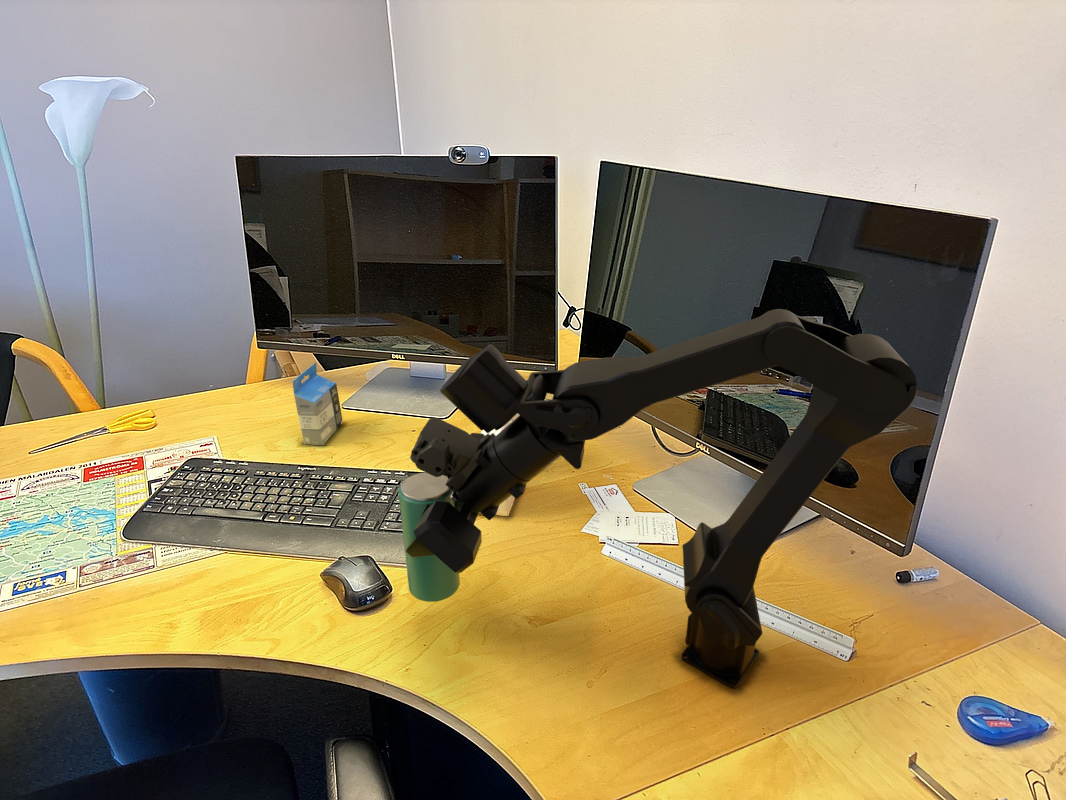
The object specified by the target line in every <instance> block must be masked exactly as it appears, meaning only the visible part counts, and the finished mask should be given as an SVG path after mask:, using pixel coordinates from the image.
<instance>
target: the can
mask: <svg viewBox="0 0 1066 800" xmlns="http://www.w3.org/2000/svg"><path fill="white" fill-rule="evenodd" d="M447 480H448V478H447V476H444V475H442V476H440V477H434V476H432V475H430V474H428V473H426V472H419V473H415V474H413V475H411V476H409V477H407V478H406V479H404V480H403V481H402V483H401V484H400V485H399V487H398V489H397V490H398V492H397V494H398V502H399V510H400V520H401V528H402V538H403V546H404V556H405V557H404V558H405V566H406V573H407V584H408V591H409V592H410V594H411V595H412V596H413V597H414V598H415V599H416V600H419V601H422V602H426V603H427V602H428V603H434V602H440V601H444V600H446V599H448V598H450V597H452V596H454V594H455V593H457V591H458V589H459V587H460V584H461V577H460V573H455V572H454V571H453V570H451V569H450V568H449V567H448V566H447V565H446V564H445V563H443V562H442V561H441V560H440V559H439V558H438V557H437V556H435V555H431V556H422V557H411V556H410V555H409V554H408V553H407V552H406V549H407V548H408V546H409V545H410V544H411V542H412V541H413V540H414V539H415V534H414V529H415V527H416V525H417V524H418V522H419V520H420V517H421V515H422V513H423V512H424V510H425V508H426V506H427V504H429V505H430V506H431V505H432V504H433V503H434V502H436V501H442V502H449V503H450V504H452V505H453V506H454V507H455V503H454V501H453V500H452V499H451V497H450V496H451V494H452V492H453V491H452V490H451V489H450V488H449V487H447V486H446V485H445V484H446V482H447Z"/></svg>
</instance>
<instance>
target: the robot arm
mask: <svg viewBox="0 0 1066 800" xmlns="http://www.w3.org/2000/svg"><path fill="white" fill-rule="evenodd" d="M775 367H780V368H782V369H784V370H786V371H789V372H791V373H793V374H795V375H796V376H798V377H800V378H801V379H803V380H804V381H807V382H808V383H810V384H811V385H813V388H812V392H811V395H810V400H809V403H808V407H807V410H806V413H805V415H804V417H803V418H802V419H801V421H800V422H799V423H798V424H797V426H796V427H795V428H794V430H793V432H791V435H790V436H789V437H788V438H787V440H786V441H785V443H784V444H783V445H782V446H781V448H780V449H779V450H778V452H777V453H776V454H775V456H774V457H773V458H772V459H771V461H770V462H769V464H768V465H767V466H766V468H765V469H764V471H763V472H762V474H761V475H760V476H759V478H758V479H757V480H756V482H755V483H754V484H753V486H752V487H751V488H750V489H749V491H748V492H747V493H746V495H745V497H744V498H743V499H742V501H741V502H740V503H739V504H738V506H737V507H736V508H735V510H734V512H733V513H732V514H731V515H730V517H729V518H728V519H727V520H726V521H725V522H724V523H722V524H720V525H717V526H715V527H711V526H709V525H708V524H706V523H705V522H700V523H699V524H698V525H697V527H696V530H695V531H694V534H693V536H692V537H691V538H690V539H689V540H688V541H686V542H684V543H683V544H682V558H683V559H682V569H683V587H684V602H685V605H686V608H687V609H688V611H689V612H690V613H689V615H688V617H687V623H686V631H685V639H684V643H685V645H686V648H685V649H684V650H683V652H682V653H681V655H680V660H681V662H684V663H685V664H687V665H689V666H690V667H693V668H694V669H696V670H698V671H700V672H702V673H703V674H705V675H707V677H710V678H712V679H714V680H716V681H717V682H719V683H721V684H723V686H724V685H725V686H726V687H728V688H730V689H736V688H737V687H738V686H739V685H740V683H741V682H742V680H743V679H744V678H745V676H746V674H747V673H748V672H749V670H750V669H751V667H752V666H753V665H754V663H755V662H756V660H757V659H758V658H759V655H760V651H759V650H758V649H757V648H756V644H757V642H758V640H759V639H760V638H761V637H762V636H763V629H762V624H761V617H760V612H759V608H758V603H757V597H756V593H755V587H754V586H755V582H756V579H757V575H758V573H759V568H760V565H761V561H762V559H763V557H764V555H765V554H766V553H767V551H768V550H770V548H771V546H772V545H773V544H774V543H775V541H776V540H777V539H778V538H779V537H780V535H781V534H782V533H783V532H784V530H785V529H786V528H787V526H788V525H789V524H790V523H791V522H792V520H793V519H794V518H795V516H797V514H798V512H800V510H801V509H802V507H804V505H805V504H806V503H807V502H808V500H810V498H811V496H812V495H813V494H814V493H815V491H817V489H818V488H819V487H820V485H821V484H822V483H823V482H824V480H825V479H826V478H827V477H828V475H829V474H830V473H831V471H832V470H833V469H834V468H835V466H836V465H837V464H838V463H839V462H840V461H841V459H842V458H843V456H845V454H846V453H847V452H848V450H850V449H851V448H852V447H854V446H856V445H858V444H860V443H862V442H865V441H867V440H869V439H872V438H874V437H876V436H879V435H880V434H882V432H884V431H885V430H886V429H887V428H888V427H889V426H890V425H892V424H893V423H894V422H895V421H896V420H897V419H898V418H899V417H901V416H902V415H903V414H904V413H905V412H907V410H908V409H909V408H910V407H912V404H913V403H914V401H915V400H916V398H917V395H918V392H919V388H918V383H917V378H916V374H915V373H914V371H913V370H912V368H911V367H910V365H909V364H908V363H907V362H906V361H905V360H904V358H902V356H901V355H900V354H899V353H898V352H897V351H896V350H895V348H893V346H892V345H891V344H890V343H889V342H888V341H887V340H885V339H884V338H883V337H881V336H879V335H875V334H872V333H858V334H854V335H853V334H850V333H848V332H845V331H843V330H841V329H838V328H836V327H834V326H832V325H829V324H825V323H822V322H818V321H814V320H811V319H807V318H805V317H802V316H799V315H797V314H795V313H793V312H792V311H790V310H788V309H782V308H776V309H771V310H768V311H766V312H765V313H763V314H762V315H760V316H758V317H755V318H752V319H749V320H746V321H743V322H740V323H737V324H734V325H731V326H728V327H725V328H722V329H719V330H715V331H713V332H710V333H707V334H704V335H700V336H698V337H695V338H692V339H689V340H686V341H683V342H680V343H677V344H674V345H670V346H668V347H665V348H662V349H659V350H655V351H653V352H650V353H646V354H644V355H640V356H634V357H616V356H615V357H613V356H608V357H600V358H595V359H588V360H582V361H578V362H577V361H576V362H574V363H572V364H570V365H569V366H567V367H566V368H564V369H558V370H545V371H543V370H542V371H533V372H530V373H529V376H528V378H527V379H526V378H524V377H523V375H522V374H521V373H519V372H518V371H517V369H515V368H514V367H513V366H512V365H511V364H510V363H509V362H508V361H507V360H506V359H505V358H504V356H503V354H502V353H501V351H499V350H498V348H496V346H494V344H487V346H486V347H485V348H483V349H482V350H480V351H478V352H477V353H476V354H474V355H473V356H472V355H470V357H468V358H467V359H466V360H465V361H464V362H463V363H462V364H461V365H460V366H459V367H458V368H457V369H456V370H455V372H453V374H452V375H451V376H450V377H449V378H448V379H447V380H446V381H445V382H444V383H443V385H442V386H441V388H440V390H439V392H440V393H441V394H442V395H443V396H444V397H445V399H447V400H448V401H449V402H450V403H451V404H452V405H454V407H456V409H457V410H459V411H460V412H461V413H462V414H463V416H465V417H466V418H467V419H468V420H470V422H471V423H473V425H475V426H476V428H478V429H479V430H480V431H482V430H484V431H485V432H486V433H489V432H491V431H492V430H493V429H495V430H499V429H500V428H502V427H503V426H504V425H506V424H507V423H508V422H509V421H510V420H511V419H512V418H513V417H514V416H515V415H516V414H517V413H518V414H519V415H520V416H518V417H517V418H516V419H515V420H514V421H513V422H511V423H510V424H509V425H508V426H507V427H506V428H504V429H503V430H502V431H501V432H500V433H499V434H497V435H495V434H493V433H492V434H491V435H489V434H487V435H484V434H482V433H481V432H471V433H469V432H467V431H466V430H464V429H461V428H459V427H458V426H455V425H453V424H451V423H450V422H447V421H446V420H443V419H441V418H438V417H430V418H429V419H428V420H427V421H426V423H425V425H424V427H423V428H422V430H420V432H419V435H418V437H417V439H416V442H415V444H414V447H413V448H412V449H411V453H410V456H409V458H410V461H411V462H412V463H413V464H414V465H415V467H416V468H417V469H418V470H420V471H422V472H423V473H425V472H426V473H428V474H430V475H432V476H434V477H440V476H442V475H444V476H446V477H447V478H448V480H447V482H446V484H445V485H446V486H447V487H449V488H450V489H451V490H452V491H453V492H452V494H451V496H450V497H451V499H452V500H453V501H454V503H455V507H454V506H453V505H452V504H450V503H449V502H442V501H436V502H434V503H433V504H432V505H431V506H430V505H429V504H427V506H426V508H425V510H424V512H423V513H422V515H421V517H420V520H419V522H418V524H417V525H416V527H415V529H414V534H415V539H414V540H413V541H412V542H411V544H410V545H409V546H408V548H407V549H406V552H407V553H408V554H409V555H410V556H411V557H422V556H431V555H435V556H437V557H438V558H439V559H440V560H441V561H442V562H443V563H445V564H446V565H447V566H448V567H449V568H450V569H451V570H453V571H454V572H455V573H459V574H462V573H463V572H465V570H467V569H468V568H470V567H471V566H472V565H474V563H475V561H476V558H477V555H478V553H479V550H480V548H481V546H482V545H481V544H482V541H483V539H482V538H483V537H482V530H481V529H479V528H478V527H477V526H476V525H475V523H476V521H477V518H478V516H479V514H481V515H482V516H483V517H484V518H486V520H488V521H490V520H492V519H493V518H494V517H496V516H497V515H496V513H497V510H498V508H499V505H500V504H501V503H502V502H504V501H505V500H506V499H507V498H509V497H510V496H511V495H512V496H513V497H514V498H515V500H517V499H519V498H520V497H521V496H523V495H524V492H525V489H526V487H527V484H528V483H530V481H532V480H533V479H534V478H536V477H537V476H538V475H539V474H540V473H541V472H543V471H544V470H545V469H547V468H548V467H549V466H550V465H552V464H553V463H554V462H555V461H557V460H558V459H559V458H561V457H562V458H563V459H564V460H565V461H566V462H568V464H569V465H570V466H571V467H572V468H574V469H575V470H580V469H581V468H582V464H583V459H584V454H585V444H586V441H590V440H591V441H592V440H594V439H597V438H599V437H601V436H603V435H605V434H607V433H609V432H611V431H613V430H615V429H617V428H619V427H621V426H623V425H625V424H626V423H627V422H628V421H630V420H632V419H633V418H634V417H635V416H636V415H637V414H639V413H640V412H642V411H643V410H645V409H647V408H649V407H651V406H653V405H655V404H658V403H661V402H665V401H667V400H671V399H675V398H677V397H681V396H684V395H687V394H691V393H693V392H697V391H701V390H703V389H707V388H709V387H713V386H717V385H720V384H723V383H726V382H730V381H733V380H735V379H739V378H743V377H746V376H749V375H752V374H755V373H758V372H761V371H765V370H768V369H771V368H772V369H773V368H775ZM548 394H549V395H553V396H552V399H546V397H547V395H548Z"/></svg>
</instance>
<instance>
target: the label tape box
mask: <svg viewBox="0 0 1066 800" xmlns="http://www.w3.org/2000/svg"><path fill="white" fill-rule="evenodd" d="M317 364H318V363H317V361H316V362H314V363H313V364H311V365H310V366H309V367H308V368H306V369H305V370H304V371H302V372H301V373H300V374H299V375H298V376H296V378H294V379H293V380H292V382H291V383H292V389H293V396H294V401H295V406H296V411H297V416H298V422H299V426H300V432H301V436H302V440H303V441H302V442H303V444H304V445H311V446H324V445H325V444H326V443H327V442H328V440H329V439H330V438H331V437H332V436H333V435H334V433H335V432H336V431H337V430H338V429H339V428H340V427H341V425H342V424H343V423H344V422H343V420H344V419H343V415H342V408H341V404H340V403H341V401H340V398H339V397H340V396H339V391H338V385H337V383H336V382H334V381H332V380H330V379H328V378H326V377H324V376H321V375H319V374H317ZM305 377H307V378H306V379H305ZM304 379H305V380H304ZM302 381H303V382H302Z"/></svg>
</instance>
